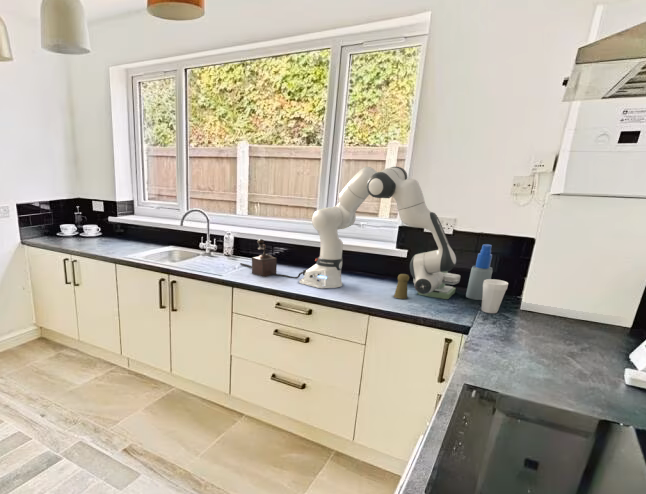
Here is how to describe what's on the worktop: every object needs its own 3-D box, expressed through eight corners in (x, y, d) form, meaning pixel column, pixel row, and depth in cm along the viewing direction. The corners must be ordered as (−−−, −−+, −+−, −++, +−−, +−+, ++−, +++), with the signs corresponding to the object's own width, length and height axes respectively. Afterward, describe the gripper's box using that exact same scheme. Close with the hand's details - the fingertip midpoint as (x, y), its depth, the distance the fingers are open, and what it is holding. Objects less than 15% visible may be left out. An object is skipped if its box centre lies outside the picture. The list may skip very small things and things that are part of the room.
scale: (417, 294, 223) (418, 288, 222) (425, 288, 234) (426, 282, 232) (447, 299, 216) (448, 293, 214) (454, 292, 226) (456, 286, 225)
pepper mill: (277, 274, 259) (279, 242, 252) (262, 277, 253) (263, 244, 246) (260, 269, 270) (261, 238, 263) (245, 271, 264) (246, 240, 257)
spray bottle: (469, 293, 225) (480, 242, 215) (488, 297, 219) (500, 244, 209) (463, 297, 219) (473, 244, 209) (482, 301, 213) (494, 247, 203)
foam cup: (499, 308, 203) (506, 280, 198) (503, 315, 195) (510, 285, 190) (476, 306, 206) (482, 278, 200) (478, 312, 198) (485, 283, 192)
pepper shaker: (405, 295, 221) (409, 273, 217) (408, 299, 215) (412, 276, 211) (392, 294, 221) (396, 272, 217) (395, 298, 216) (398, 275, 212)
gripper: (458, 275, 204) (464, 270, 214) (411, 269, 215) (420, 264, 225) (455, 289, 207) (462, 283, 217) (409, 282, 218) (418, 276, 228)
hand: (440, 273), depth 221 cm, fingers closed on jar, 6 cm apart
